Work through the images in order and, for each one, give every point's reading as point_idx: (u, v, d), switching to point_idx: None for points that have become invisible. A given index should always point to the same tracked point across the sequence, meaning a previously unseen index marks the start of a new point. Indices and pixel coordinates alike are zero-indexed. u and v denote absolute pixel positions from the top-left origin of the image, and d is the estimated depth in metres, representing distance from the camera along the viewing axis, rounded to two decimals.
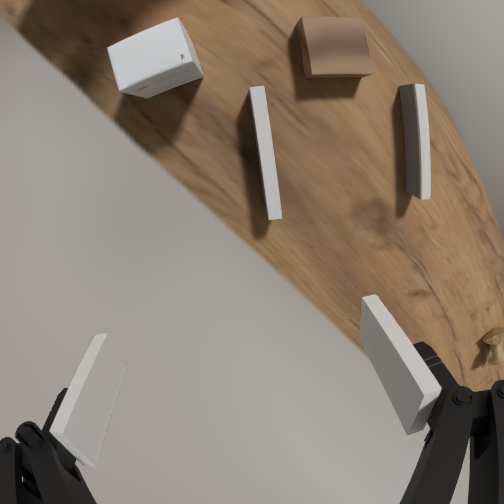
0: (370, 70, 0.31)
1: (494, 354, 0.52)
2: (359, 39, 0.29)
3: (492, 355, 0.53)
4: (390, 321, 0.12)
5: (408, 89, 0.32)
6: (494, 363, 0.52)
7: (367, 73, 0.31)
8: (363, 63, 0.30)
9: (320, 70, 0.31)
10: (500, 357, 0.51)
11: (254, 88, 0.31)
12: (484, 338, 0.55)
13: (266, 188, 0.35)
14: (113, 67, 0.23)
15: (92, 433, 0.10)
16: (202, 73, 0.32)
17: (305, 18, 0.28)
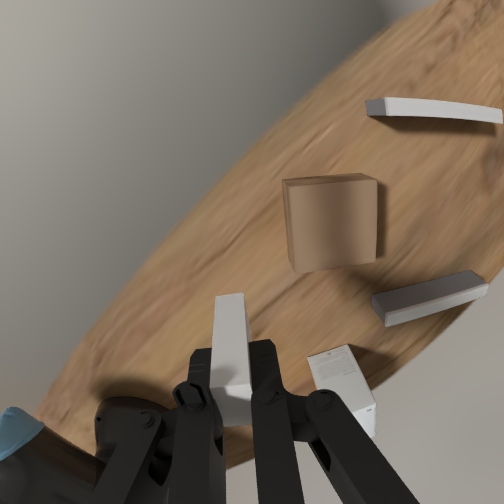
0: (372, 182, 0.25)
1: None
2: (327, 195, 0.25)
3: None
4: (240, 317, 0.14)
5: None
6: None
7: (375, 186, 0.25)
8: (363, 192, 0.25)
9: (371, 251, 0.27)
10: None
11: (388, 323, 0.30)
12: None
13: (467, 301, 0.30)
14: None
15: None
16: (348, 351, 0.35)
17: (298, 269, 0.28)
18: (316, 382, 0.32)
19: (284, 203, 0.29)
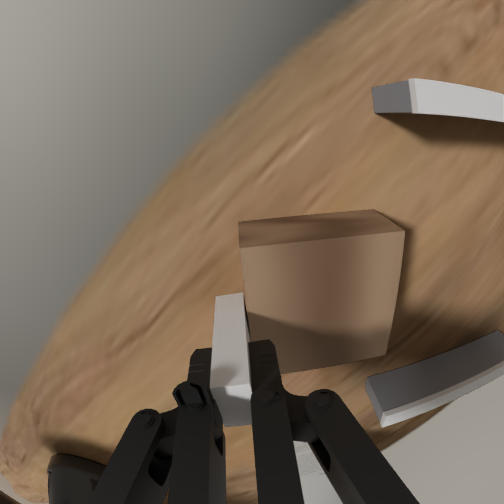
0: (396, 236, 0.14)
1: None
2: (312, 261, 0.14)
3: None
4: (239, 317, 0.14)
5: None
6: None
7: (401, 243, 0.14)
8: (378, 254, 0.14)
9: (381, 342, 0.16)
10: None
11: (385, 423, 0.19)
12: None
13: (493, 379, 0.19)
14: None
15: None
16: None
17: None
18: None
19: None
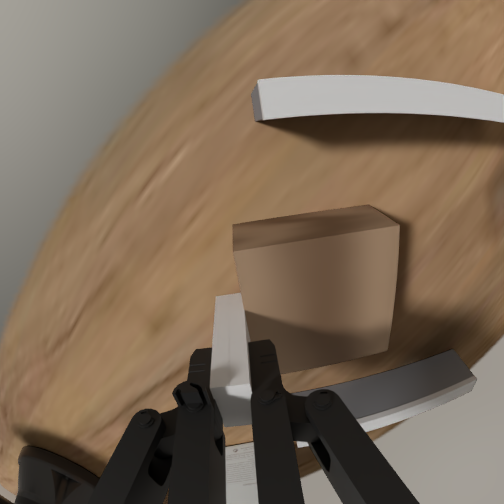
0: (390, 231, 0.13)
1: None
2: (307, 260, 0.14)
3: None
4: (239, 317, 0.14)
5: None
6: None
7: (396, 237, 0.14)
8: (373, 250, 0.14)
9: (382, 338, 0.16)
10: None
11: (300, 444, 0.19)
12: None
13: (438, 405, 0.19)
14: None
15: None
16: None
17: None
18: None
19: None
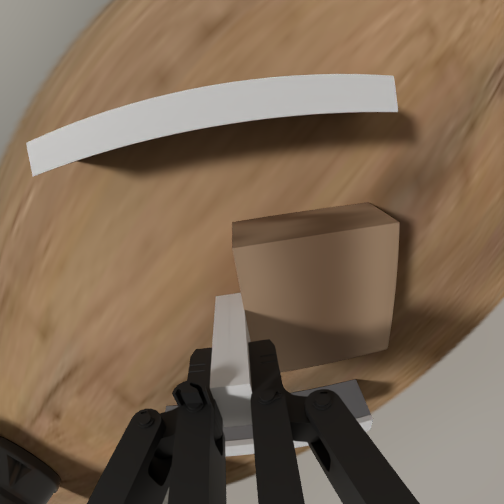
0: (390, 228, 0.13)
1: None
2: (306, 257, 0.14)
3: None
4: (240, 317, 0.14)
5: None
6: None
7: (396, 234, 0.14)
8: (373, 247, 0.14)
9: (382, 336, 0.16)
10: None
11: None
12: None
13: None
14: None
15: None
16: None
17: None
18: None
19: None
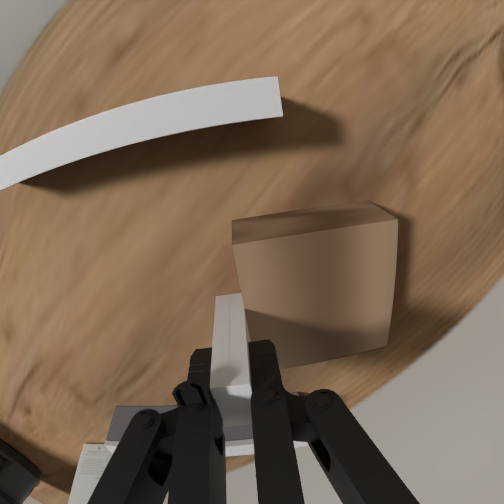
0: (389, 224, 0.14)
1: None
2: (306, 254, 0.14)
3: None
4: (239, 317, 0.14)
5: None
6: None
7: (395, 231, 0.14)
8: (372, 244, 0.14)
9: (382, 333, 0.16)
10: None
11: (112, 451, 0.19)
12: None
13: None
14: None
15: None
16: None
17: None
18: (75, 473, 0.21)
19: None
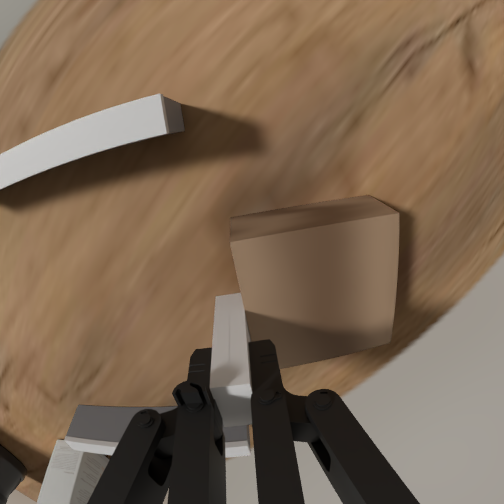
0: (390, 219, 0.13)
1: None
2: (305, 250, 0.14)
3: None
4: (240, 317, 0.14)
5: None
6: None
7: (396, 225, 0.13)
8: (373, 239, 0.14)
9: (385, 329, 0.16)
10: None
11: (72, 447, 0.19)
12: None
13: None
14: None
15: None
16: None
17: None
18: None
19: None
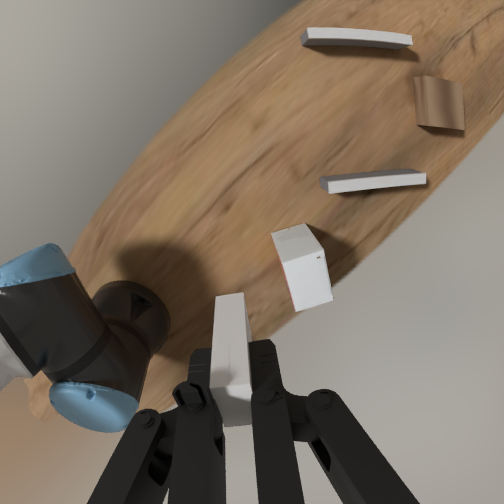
0: (459, 84, 0.34)
1: None
2: (441, 84, 0.34)
3: None
4: (240, 317, 0.14)
5: (310, 41, 0.33)
6: None
7: (461, 87, 0.34)
8: (456, 88, 0.34)
9: (462, 123, 0.37)
10: None
11: (330, 189, 0.40)
12: None
13: (405, 184, 0.40)
14: (314, 305, 0.40)
15: None
16: (305, 225, 0.45)
17: (430, 123, 0.37)
18: (275, 244, 0.42)
19: (414, 90, 0.38)
